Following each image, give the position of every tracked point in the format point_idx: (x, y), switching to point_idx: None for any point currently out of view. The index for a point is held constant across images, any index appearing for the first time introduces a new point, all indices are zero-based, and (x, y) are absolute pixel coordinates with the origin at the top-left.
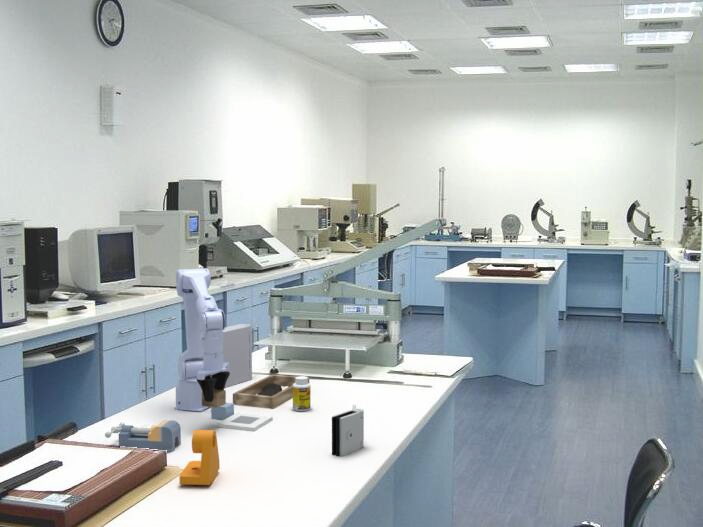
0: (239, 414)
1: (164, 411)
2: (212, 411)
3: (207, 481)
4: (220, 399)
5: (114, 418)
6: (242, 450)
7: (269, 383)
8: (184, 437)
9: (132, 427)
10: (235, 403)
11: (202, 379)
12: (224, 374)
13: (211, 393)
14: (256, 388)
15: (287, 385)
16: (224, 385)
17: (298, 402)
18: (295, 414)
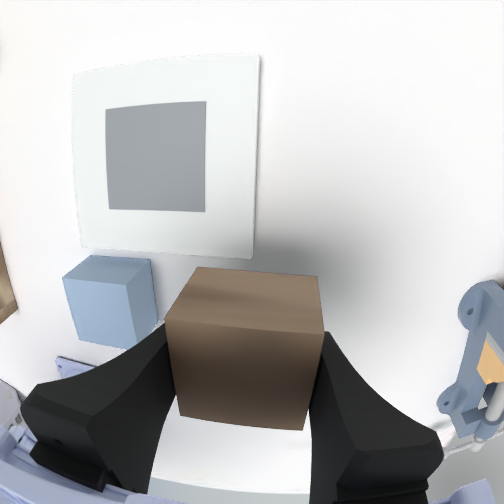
0: (94, 226)
1: (168, 443)
2: (146, 332)
3: None
4: (263, 296)
5: (267, 490)
6: (493, 40)
7: None
8: (413, 308)
9: (490, 421)
10: (13, 302)
11: (487, 482)
12: (100, 436)
13: (352, 368)
14: None
15: None
16: (133, 355)
17: None
18: (14, 53)
